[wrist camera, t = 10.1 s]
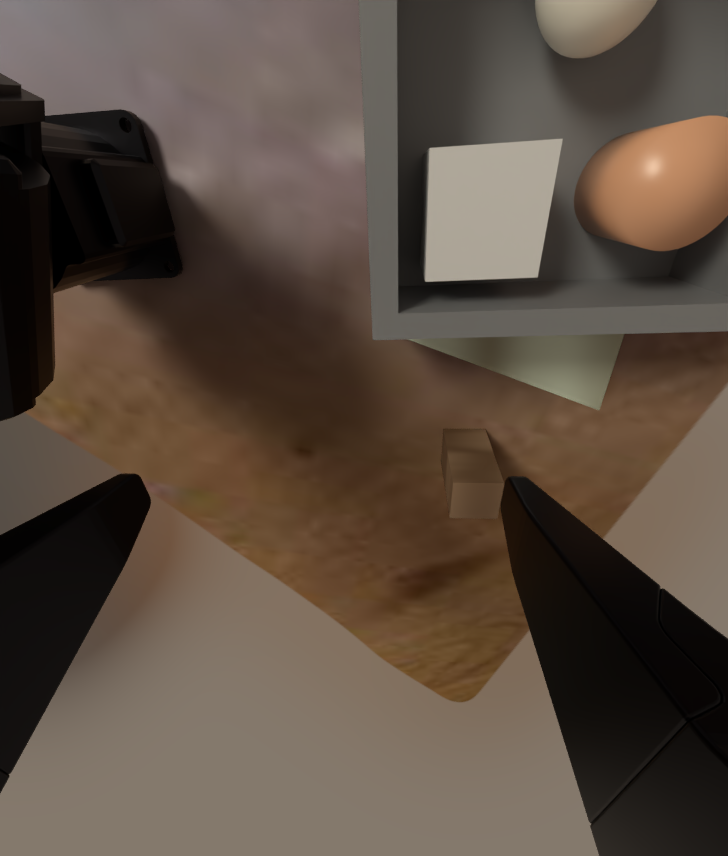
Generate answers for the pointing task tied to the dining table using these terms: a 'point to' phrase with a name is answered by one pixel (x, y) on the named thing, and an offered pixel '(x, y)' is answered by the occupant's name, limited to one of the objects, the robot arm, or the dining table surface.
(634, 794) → the robot arm
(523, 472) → the dining table surface
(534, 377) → the lid
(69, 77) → the dining table surface
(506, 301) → the storage box
